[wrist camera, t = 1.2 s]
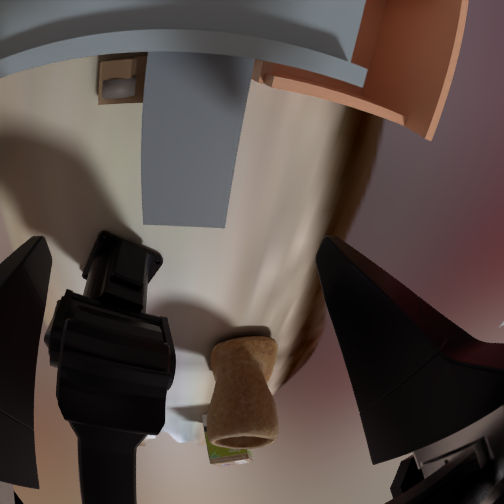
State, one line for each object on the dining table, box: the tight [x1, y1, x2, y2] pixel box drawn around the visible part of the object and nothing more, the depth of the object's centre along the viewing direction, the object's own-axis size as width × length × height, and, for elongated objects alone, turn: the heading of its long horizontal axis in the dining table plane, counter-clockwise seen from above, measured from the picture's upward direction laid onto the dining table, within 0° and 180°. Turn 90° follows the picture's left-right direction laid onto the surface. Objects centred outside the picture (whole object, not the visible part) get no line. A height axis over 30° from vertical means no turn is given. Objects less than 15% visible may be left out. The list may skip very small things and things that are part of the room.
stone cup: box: [206, 336, 279, 449], centre depth 35 cm, size 15×12×15 cm
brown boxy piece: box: [251, 0, 468, 141], centre depth 10 cm, size 10×11×8 cm
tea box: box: [202, 414, 253, 466], centre depth 62 cm, size 15×10×15 cm, turn 4°
